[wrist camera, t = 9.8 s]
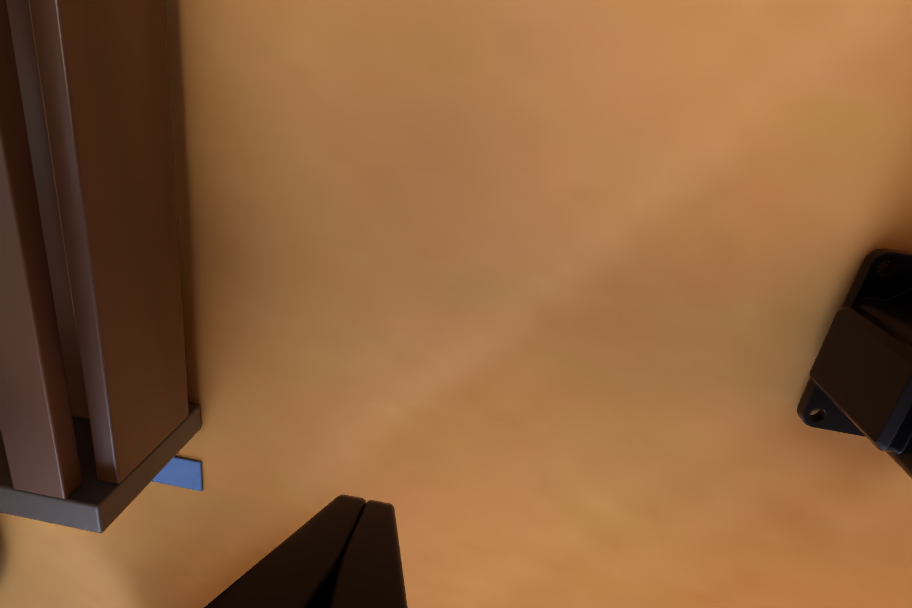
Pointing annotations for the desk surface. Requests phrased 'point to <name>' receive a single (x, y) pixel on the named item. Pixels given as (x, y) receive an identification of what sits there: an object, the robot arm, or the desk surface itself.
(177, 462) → the tape marks
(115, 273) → the rack
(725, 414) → the desk surface
